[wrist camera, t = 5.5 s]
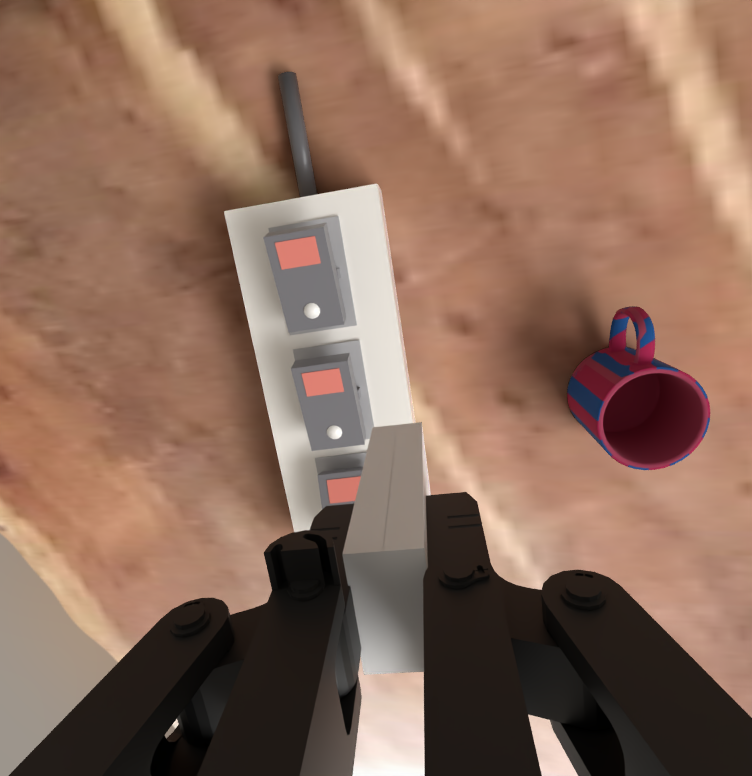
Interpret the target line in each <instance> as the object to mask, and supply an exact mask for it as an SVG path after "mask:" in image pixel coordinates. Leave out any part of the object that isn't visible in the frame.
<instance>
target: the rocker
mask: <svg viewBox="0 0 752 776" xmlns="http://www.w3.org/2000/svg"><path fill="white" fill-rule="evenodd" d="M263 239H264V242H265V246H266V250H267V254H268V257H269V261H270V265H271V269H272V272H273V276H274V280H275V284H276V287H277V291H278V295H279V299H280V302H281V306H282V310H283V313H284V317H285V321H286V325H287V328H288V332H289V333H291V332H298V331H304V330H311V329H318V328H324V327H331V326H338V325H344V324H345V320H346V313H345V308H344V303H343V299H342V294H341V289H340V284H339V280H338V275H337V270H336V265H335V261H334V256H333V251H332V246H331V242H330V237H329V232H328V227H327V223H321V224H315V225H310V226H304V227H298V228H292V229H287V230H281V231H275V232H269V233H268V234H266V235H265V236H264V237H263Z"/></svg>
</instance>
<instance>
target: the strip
mask: <svg viewBox="0 0 752 776" xmlns="http://www.w3.org/2000/svg"><path fill="white" fill-rule="evenodd" d="M278 80H279V85H280V91H281V96H282V101H283V107H284V112H285V118H286V123H287V128H288V134H289V139H290V145H291V150H292V156H293V161H294V166H295V172H296V177H297V183H298V188H299V194H300V198H294V199H289V200H283V201H278V202H272V203H267V204H261V205H256V206H250V207H245V208H239V209H233V210H228V211H224V214H225V218H226V223H227V227H228V232H229V237H230V241H231V246H232V250H233V255H234V259H235V264H236V268H237V273H238V278H239V282H240V287H241V291H242V296H243V300H244V305H245V309H246V314H247V319H248V323H249V328H250V332H251V337H252V341H253V346H254V350H255V355H256V360H257V364H258V369H259V373H260V378H261V382H262V387H263V391H264V396H265V401H266V405H267V410H268V414H269V419H270V423H271V428H272V432H273V437H274V442H275V446H276V451H277V455H278V460H279V464H280V469H281V473H282V478H283V482H284V487H285V492H286V496H287V501H288V505H289V510H290V514H291V519H292V523H293V528H294V532H299V531H304V530H310V527H311V525H312V522H313V519H314V517H315V516H316V515H317V514H318V513H319V512H320V511H321V510H322V505H321V498H320V490H319V483H318V476H317V475H318V474H319V473H320V472H322V471H328V470H337V469H345V468H354V467H362V466H363V465H364V461H365V457H366V453H367V449H368V444H369V440H370V436H371V432H372V428H373V427H381V426H390V425H400V424H409V423H416V422H415V415H414V408H413V401H412V395H411V388H410V381H409V374H408V367H407V361H406V354H405V347H404V340H403V334H402V327H401V320H400V313H399V306H398V300H397V293H396V286H395V279H394V273H393V266H392V259H391V252H390V246H389V239H388V232H387V225H386V218H385V212H384V205H383V198H382V191H381V189H380V188H379V186H378V184H372V185H366V186H361V187H355V188H350V189H344V190H339V191H333V192H328V193H322V194H317V190H316V184H315V179H314V173H313V167H312V162H311V156H310V150H309V145H308V139H307V133H306V128H305V122H304V116H303V111H302V105H301V99H300V94H299V88H298V82H297V77H296V73H294V72H284V73H281V74H279V75H278ZM321 223H327V227H328V232H329V237H330V242H331V246H332V251H333V256H334V261H335V265H336V270H337V275H338V280H339V284H340V289H341V294H342V299H343V303H344V308H345V313H346V320H345V324H344V325H338V326H331V327H324V328H318V329H311V330H304V331H298V332H291V333H289V332H288V328H287V325H286V321H285V317H284V313H283V310H282V306H281V302H280V299H279V295H278V291H277V287H276V284H275V280H274V276H273V272H272V269H271V265H270V261H269V257H268V254H267V250H266V246H265V242H264V239H263V237H264V236H265V235H266V234H268V233H269V232H275V231H281V230H287V229H292V228H298V227H304V226H310V225H315V224H321ZM344 353H350V357H351V362H352V367H353V372H354V376H355V381H356V386H357V391H358V396H359V401H360V406H361V411H362V416H363V421H364V426H365V431H366V439H365V445H357V446H349V447H341V448H332V449H324V450H316V451H312V450H311V446H310V442H309V438H308V434H307V430H306V426H305V423H304V419H303V415H302V411H301V407H300V403H299V399H298V395H297V391H296V387H295V384H294V380H293V376H292V372H291V367H292V365H293V363H294V362H295V360H302V359H309V358H316V357H323V356H330V355H337V354H344Z"/></svg>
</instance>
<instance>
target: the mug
mask: <svg viewBox="0 0 752 776" xmlns="http://www.w3.org/2000/svg"><path fill="white" fill-rule="evenodd" d="M629 317H630V318H631V320H632V322H633V324H634V327H635V331H636V339H637V349H636V350H635V349H631V348H628V347H626V328H627V323H628V319H629ZM654 351H655V333H654V327H653V323H652V321H651V319H650V317H649V316H648V314H647V313H646V312H645V311H644V310H643V309H641V308H640V307H626V308H622V309H619V310H618V311H617V312H616V314H615V316H614V318H613V321H612V325H611V330H610V339H609V348H605V349H602V350H599V351H597V352H595V353H593V354H591V355H590V356H588V357H587V358H586V359H584V360H583V361H582V362H581V363H580V364H579V365H578V367H577V368H576V369H575V371H574V372H573V374H572V376H571V378H570V381H569V385H568V389H567V399H568V405H569V407H570V410H571V412H572V414H573V415H574V417H575V418H576V419H577V421H578V422H579V423H580V424H581V425H582V426H583V427H584V428H585V429H586V430H587V431H588V432H589V434H590V435H591V436H592V437H593V438H594V439H595V440H596V441H597V442H598V443H599V444H600V445H601V446H602V448H603V449H604V450H605V451H606V452H607V453H608V454H609V455H610V456H611V457H612V458H613V459H615V460H616V461H617V462H619V463H621V464H623V465H625V466H627V467H631V468H634V469H640V470H655V469H661V468H665V467H668V466H671V465H674V464H675V463H677V462H679V461H681V460H683V459H684V458H685V457H687V456H688V455H690V454H691V453H692V452H693V451H694V450H695V449H696V448H697V446H698V445H699V444H700V442H701V441H702V440H703V438H704V436H705V434H706V432H707V429H708V425H709V421H710V405H709V401H708V398H707V395H706V393H705V391H704V389H703V388H702V386H701V385H700V384H699V383H698V382H697V381H696V380H695V379H694V378H692V377H691V376H690V375H688V374H686V373H684V372H682V371H680V370H678V369H676V368H674V367H672V366H670V365H668V364H665V363H663V362H661V361H659V360H657V359H655V358H653V357H654Z"/></svg>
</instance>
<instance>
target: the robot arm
mask: <svg viewBox="0 0 752 776" xmlns="http://www.w3.org/2000/svg"><path fill="white" fill-rule="evenodd" d="M264 556H265V560H266V565H267V569H268V573H269V578H270V582H271V587H272V592H271V595H270V597H269V600H268V602H267V603H265V604H263V605H261V606H258V607H255V608H252V609H249V610H246V611H242V612H239V613H235V614H232V615H230V613H229V609H228V607H227V605H226V604H225V603H224V602H223V601H222V600H219V599H215V598H200V599H196V600H191V601H189V602H186V603H184V604H182V605H180V606H178V607H176V608H174V609H172V610H171V611H170V612H169V613H167V614H166V615H165V616H164V617H163V618H161V619H160V620H159V621H158V622H157V623H156V624H155V626H154V627H153V628H152V629H151V630H150V631H149V632H148V633H147V634H146V635H145V636H144V637H143V638H142V639H141V640H140V641H139V642H138V643H137V644H136V645H135V646H134V647H133V648H132V649H131V650H130V651H129V652H128V653H127V654H126V655H125V656H124V657H123V658H122V659H121V660H120V662H119V663H118V664H117V665H116V666H115V667H114V668H113V669H112V670H111V671H110V672H109V673H108V674H107V675H106V676H105V677H104V678H103V679H102V680H101V681H100V682H99V683H98V684H97V685H96V686H95V687H94V688H93V689H92V690H91V691H90V693H88V695H87V696H86V697H85V698H84V699H83V700H82V701H81V702H80V703H79V704H78V705H77V706H76V707H75V708H74V709H73V710H72V711H71V712H70V713H69V714H68V715H67V716H66V717H65V718H64V719H63V720H62V721H61V722H60V723H59V724H58V725H57V726H56V727H55V728H54V729H53V731H51V733H50V734H49V735H48V736H47V737H46V738H45V739H44V740H43V741H42V742H41V743H40V744H39V745H38V746H37V747H36V748H35V749H34V750H33V751H32V752H31V753H30V754H29V755H28V756H27V757H26V758H25V759H24V760H23V761H22V763H20V764H19V765H18V767H17V768H16V769H15V770H14V771H13V772H12V773H11V774H10V775H9V776H352V774H353V765H354V757H355V748H356V740H357V732H358V723H359V715H360V706H361V689H360V683H359V677H358V670H359V662H360V655H361V661H362V666H363V672H364V675H366V674H385V673H405V672H424V738H425V776H542V775H541V771H540V766H539V762H538V757H537V753H536V749H535V744H534V740H533V735H532V731H531V726H530V722H529V717H528V714H529V715H533V716H537V717H541V718H545V719H549V720H550V722H551V725H552V728H553V731H554V732H555V734H556V736H557V738H558V740H559V741H560V743H561V745H562V747H563V749H564V750H565V752H566V754H567V756H568V758H569V760H570V761H571V763H572V765H573V767H574V769H575V770H576V772H577V774H578V776H752V718H751V717H750V716H749V715H748V714H747V713H746V712H745V711H744V710H743V709H742V708H741V707H740V706H739V705H738V704H737V703H736V702H735V701H734V700H733V699H732V698H731V697H730V696H729V695H728V694H727V693H726V692H725V691H724V690H723V689H722V688H721V687H720V686H719V685H718V684H717V683H716V682H715V681H714V680H713V678H712V677H711V676H710V675H709V674H708V673H707V672H706V671H705V670H704V669H703V668H702V667H701V666H700V665H699V664H698V663H697V662H696V661H695V660H694V659H693V658H692V657H691V656H690V655H689V654H688V653H687V652H686V651H685V650H684V649H683V648H682V647H681V646H680V645H679V644H678V643H677V642H676V641H675V640H674V639H673V638H672V637H671V636H670V635H669V634H668V633H667V632H666V631H665V630H664V629H663V628H662V627H661V626H660V625H659V624H658V623H657V622H656V621H655V620H654V619H653V618H652V617H651V616H650V615H649V614H648V613H647V612H646V611H645V610H644V609H643V608H642V607H641V606H640V605H639V604H638V603H637V602H636V601H635V600H634V599H633V598H632V597H631V596H630V595H629V594H628V593H627V592H626V591H625V590H624V589H623V588H622V587H621V586H620V585H619V584H617V583H616V582H615V581H613V580H612V579H610V578H609V577H606V576H604V575H601V574H598V573H596V572H591V571H584V570H570V571H562V572H560V573H557V574H555V575H552V576H551V577H550V578H549V579H548V580H547V581H545V582H544V583H543V587H542V590H538V589H532V588H526V587H522V586H518V585H515V584H512V583H510V582H508V581H506V580H504V579H503V578H501V577H500V576H498V574H497V573H496V572H495V571H494V569H493V567H492V565H491V563H490V558H489V554H488V549H487V545H486V540H485V536H484V531H483V527H482V522H481V517H480V513H479V508H478V504H477V501H476V500H475V499H473V498H472V497H471V496H470V495H469V494H468V493H467V492H461V493H450V494H439V495H431V493H430V485H429V477H428V469H427V460H426V452H425V444H424V436H423V428H422V422H419V423H409V424H400V425H390V426H381V427H373V428H372V432H371V436H370V440H369V444H368V449H367V453H366V457H365V461H364V465H363V470H362V474H361V478H360V482H359V487H358V491H357V495H356V499H355V503H354V504H343V505H331V506H326V507H324V508H323V509H322V510H321V511H320V512H319V513H318V514H317V515H316V516H315V517H314V519H313V522H312V525H311V527H310V530H304V531H299V532H293V533H290V534H288V535H285V536H283V537H280V538H279V539H277V540H276V541H274V542H273V543H271V544H270V545H269V546H268V548H267V549H266V550H265V552H264ZM176 719H177V720H178V723H179V725H178V726H177V728H176V729H175V730H174V732H173V733H172V734H171V735H170V736H169V737H168V738H167V739H166V738H165V733H166V732H167V731H168V729H169V728H170V727H171V725H172V724H173V723H174V721H175V720H176Z"/></svg>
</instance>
